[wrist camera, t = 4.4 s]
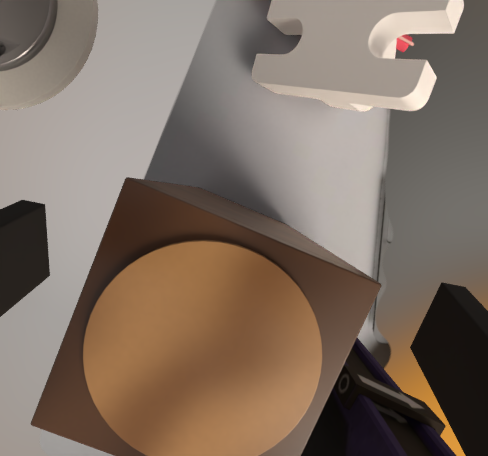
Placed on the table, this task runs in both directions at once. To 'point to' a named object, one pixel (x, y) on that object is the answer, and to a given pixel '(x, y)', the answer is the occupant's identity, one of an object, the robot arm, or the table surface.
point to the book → (374, 416)
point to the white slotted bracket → (354, 51)
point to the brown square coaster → (200, 336)
